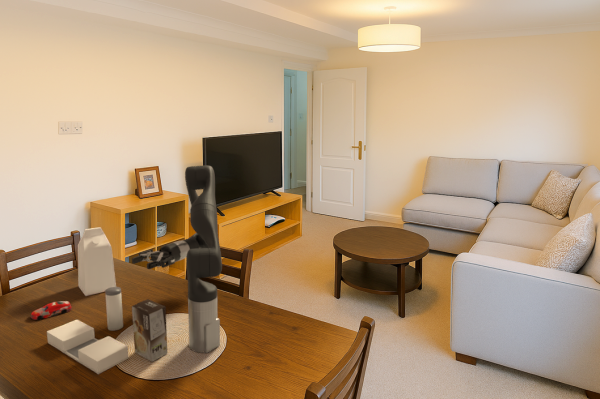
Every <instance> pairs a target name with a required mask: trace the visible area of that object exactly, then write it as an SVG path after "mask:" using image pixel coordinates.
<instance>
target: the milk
mask: <svg viewBox="0 0 600 399" xmlns="http://www.w3.org/2000/svg"><path fill="white" fill-rule="evenodd" d="M114 264H115V263H114V257H113V249H112V245H111V243H110V241H109V239H108V238H107V236H106V234H105V232H104V230H103V229H102V227H101V226H100V227H93V228H85V229H84V232H83V234H82V237H81V238H80V240H79V242H78V244H77V271H78V272H77V273H78V275H77V277H78V282H77V283H78V288H79V289H80V290H81V292H82V293H83V294H84V296H85V297H87V296H92V295H95V294H99V293H103V292H105V290H106V289H108V288H111V287H117V283H116V282H117V281H116V274H115V265H114Z"/></svg>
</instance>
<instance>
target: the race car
mask: <svg viewBox="0 0 600 399" xmlns="http://www.w3.org/2000/svg"><path fill="white" fill-rule="evenodd" d="M72 309H73V308H72V305H71V303H70V301H67V300H65V301H64V300H63V301H61V300H60V301H53V302H50V303H49V302H48V303H47V304H46V305H43V306H42V307H40V308H38V309H35V310H33V311H31V314H30V318H31V319H32V320H35V321H41V320H43V319H48V318H50V317H51V318H52V317H54V316H58V315H61V314H62V315H63V314H67V313H69V312H70V311H71V310H72Z"/></svg>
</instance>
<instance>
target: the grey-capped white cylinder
mask: <svg viewBox="0 0 600 399" xmlns="http://www.w3.org/2000/svg"><path fill="white" fill-rule="evenodd" d="M104 294H105V305H106V306H105V308H106V322H107V329H108V331H118V330H121V329H122V328H123V327H124V318H123V314H124V313H123V303H122V301H123V300H122V287H120V286H116V287H111V288H108V289H106V290H105V293H104Z"/></svg>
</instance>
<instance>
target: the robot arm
mask: <svg viewBox="0 0 600 399" xmlns="http://www.w3.org/2000/svg"><path fill="white" fill-rule="evenodd" d="M184 178H185V185H186V186H185V187H186V190H187V194H188V198H189V202H190V205H191V206H190V208H189V209H190V210H189V213H190V214H189V217H190V221H189V222H190V225H191V227H192V229H193V231H194V232H195V233H194V234H193V235H191V236H190V237H188V238H185V239H182V240H178V241H174V242H171V243H168V244H167V243H166V244H164V245H162V246H161V247H160V249H159V250H155V251H154V250H153V249H152V248H151V249H147V250H145V251H141V252H138V256H134V257H132V258H131V263H132V264H138V263H140V262H141V263H142V262H148V263H147V264H146V269H147V270H152V269H154V268H160V267H161V268H163V269H164V268H166V267H169V266H171V265H174V264H175V263H176V262H180V261H182V260H184V259H186V262H185V263H186V273H187V274H186V276H187V277H186V278H187V302H188V303H187V304H188V305H187V306H188V307H187V309H188V316H187V317H188V347H189V349H190V350H191V351H194V352H195V353H196V352H197V353H205V354H208V353H209V352H211V351H213V350H215V349H216V348H218V347H219V346H221V319H220V318H218V288H217V286H216V285H215V284H213V283H210V282H208V281H204V280H202V278H215V277H218V276H219V275H221V273H222V270H223V260H222V252H221V247H220V246H221V245H220V239H219V229H218V228H219V227H218V226H219V225H218V222H219V221H218V209H217V203H216V202H217V201H216V176H215V170H214V168H213V166H211V165H206V164H205V165H191V166H187V167H186V168H185V173H184ZM198 190H200V191H201V190H203V191H202V193H201V194H200V195H198V192H197V191H198Z"/></svg>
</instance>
